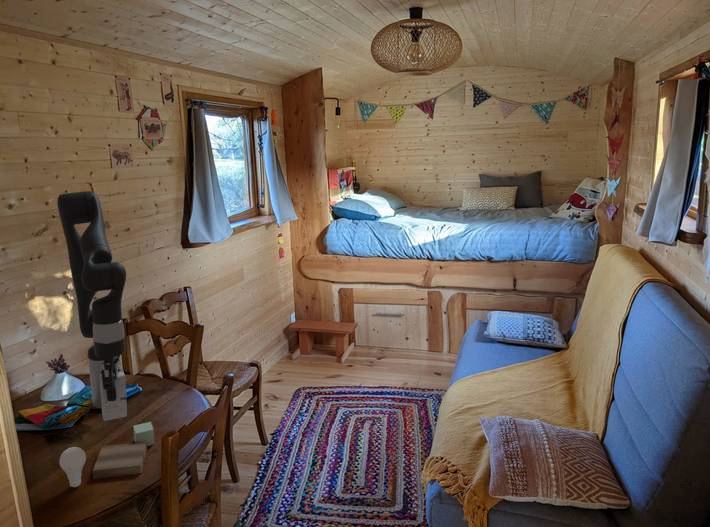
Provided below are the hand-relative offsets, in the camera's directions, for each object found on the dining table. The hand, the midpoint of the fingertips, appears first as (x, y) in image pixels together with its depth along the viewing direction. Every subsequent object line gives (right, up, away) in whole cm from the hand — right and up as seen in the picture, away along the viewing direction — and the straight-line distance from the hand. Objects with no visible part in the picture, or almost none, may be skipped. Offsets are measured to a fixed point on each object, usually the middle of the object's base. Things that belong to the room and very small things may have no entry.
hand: (113, 395), depth 146 cm
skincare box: (0, -6, +1) cm, 6 cm away
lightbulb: (-7, -23, -6) cm, 24 cm away
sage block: (+2, -18, +15) cm, 24 cm away
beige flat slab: (0, -21, +5) cm, 21 cm away
